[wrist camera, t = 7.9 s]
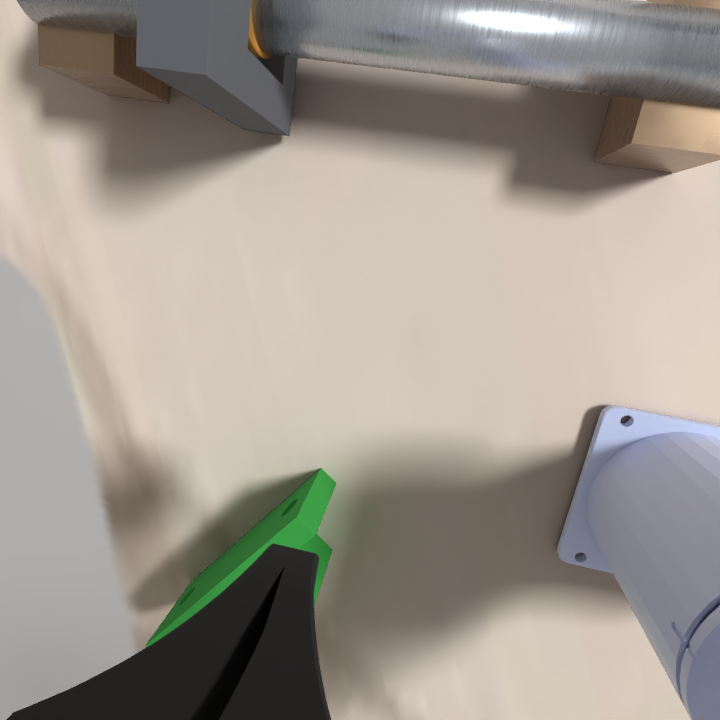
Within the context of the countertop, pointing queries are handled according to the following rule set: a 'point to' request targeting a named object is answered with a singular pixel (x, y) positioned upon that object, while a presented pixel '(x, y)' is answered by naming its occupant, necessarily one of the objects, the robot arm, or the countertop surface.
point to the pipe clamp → (261, 549)
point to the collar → (216, 61)
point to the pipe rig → (460, 55)
